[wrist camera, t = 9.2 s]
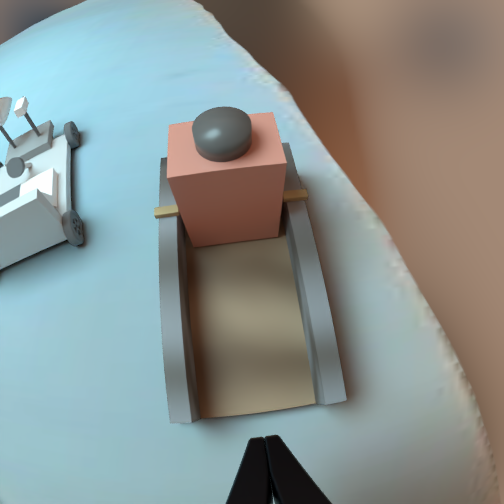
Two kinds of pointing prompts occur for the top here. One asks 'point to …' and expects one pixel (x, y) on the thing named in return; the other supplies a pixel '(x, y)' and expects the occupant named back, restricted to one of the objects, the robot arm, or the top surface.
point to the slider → (227, 175)
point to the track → (245, 316)
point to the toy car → (36, 189)
